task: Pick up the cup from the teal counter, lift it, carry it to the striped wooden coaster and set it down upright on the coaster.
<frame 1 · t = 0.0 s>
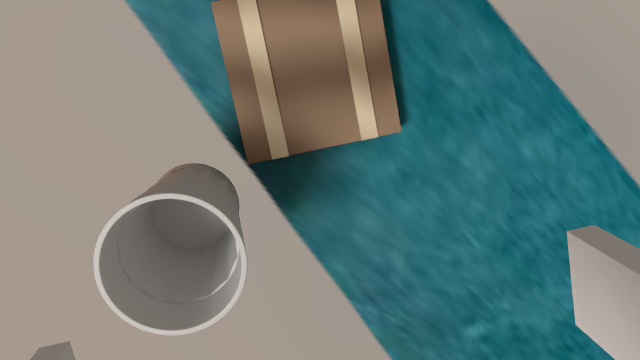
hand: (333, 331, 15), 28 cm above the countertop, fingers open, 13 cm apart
cup: (195, 205, 43), on the countertop
striped wooden coaster: (308, 68, 41), on the countertop
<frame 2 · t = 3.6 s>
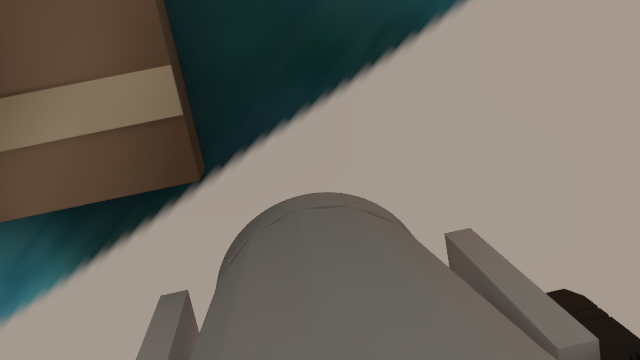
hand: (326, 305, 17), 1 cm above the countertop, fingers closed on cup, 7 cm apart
cup: (323, 293, 18), on the countertop, touching gripper
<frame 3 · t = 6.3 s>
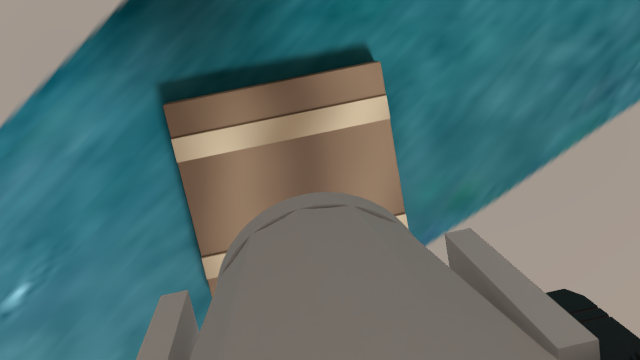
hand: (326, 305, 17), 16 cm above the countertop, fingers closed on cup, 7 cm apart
cup: (323, 292, 18), point 15 cm above the countertop, touching gripper
striped wooden coaster: (293, 182, 32), on the countertop
when the fingers open (4 cm above the countertop, at t = 9.1 s): cup drops 1 cm, resting on striped wooden coaster.
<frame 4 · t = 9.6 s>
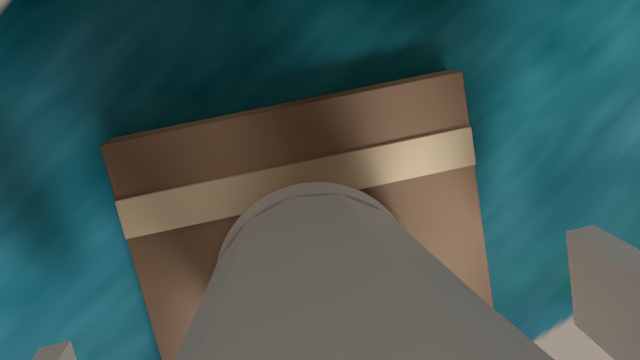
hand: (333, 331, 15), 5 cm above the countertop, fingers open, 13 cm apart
cup: (315, 276, 19), point 1 cm above the countertop, touching striped wooden coaster
striped wooden coaster: (314, 260, 20), on the countertop
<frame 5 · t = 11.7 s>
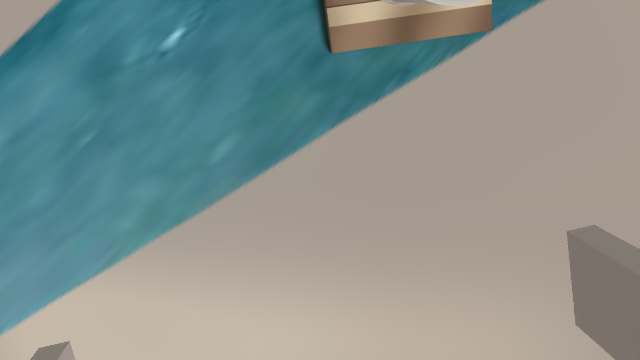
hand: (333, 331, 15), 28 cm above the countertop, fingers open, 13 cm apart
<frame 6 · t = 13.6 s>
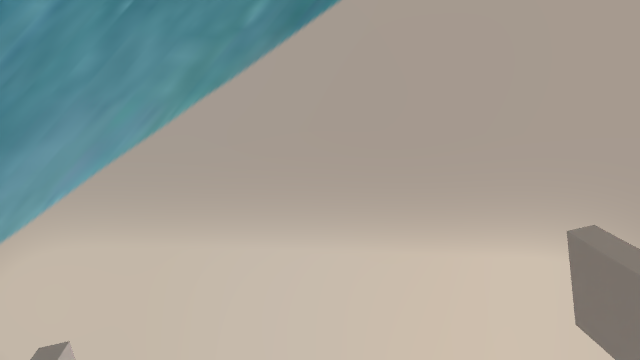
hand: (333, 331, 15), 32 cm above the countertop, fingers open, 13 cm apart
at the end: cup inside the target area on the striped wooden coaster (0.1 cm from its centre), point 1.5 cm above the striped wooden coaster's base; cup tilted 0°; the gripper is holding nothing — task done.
